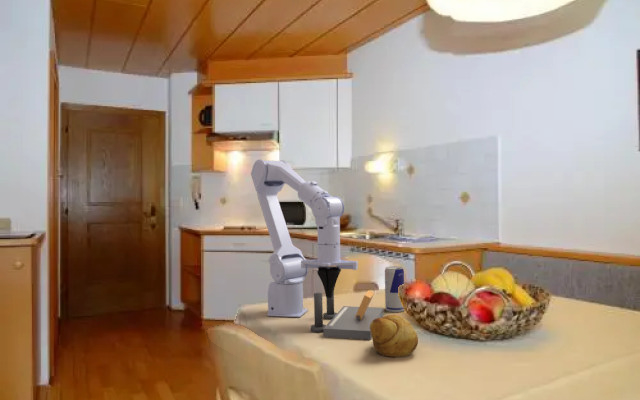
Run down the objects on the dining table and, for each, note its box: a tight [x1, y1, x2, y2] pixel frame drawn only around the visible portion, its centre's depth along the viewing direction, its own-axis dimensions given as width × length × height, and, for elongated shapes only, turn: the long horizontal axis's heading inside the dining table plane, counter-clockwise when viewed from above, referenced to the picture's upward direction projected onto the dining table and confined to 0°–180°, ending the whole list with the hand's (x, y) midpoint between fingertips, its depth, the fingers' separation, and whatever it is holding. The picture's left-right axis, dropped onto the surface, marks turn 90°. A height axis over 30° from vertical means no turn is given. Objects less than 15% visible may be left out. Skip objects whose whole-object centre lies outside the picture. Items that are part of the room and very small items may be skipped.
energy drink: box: [384, 265, 405, 313], centre depth 134 cm, size 5×5×12 cm
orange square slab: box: [355, 290, 375, 320], centre depth 119 cm, size 2×6×6 cm, turn 165°
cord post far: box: [323, 293, 338, 321], centre depth 128 cm, size 4×4×9 cm
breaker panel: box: [323, 305, 384, 341], centre depth 120 cm, size 11×22×2 cm, turn 165°
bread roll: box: [370, 314, 419, 358], centre depth 101 cm, size 13×10×8 cm
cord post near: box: [310, 292, 327, 334], centre depth 116 cm, size 4×4×9 cm
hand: (329, 296), depth 122 cm, fingers closed
